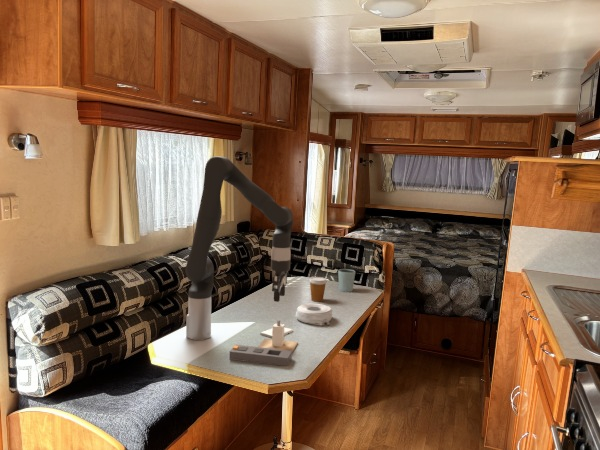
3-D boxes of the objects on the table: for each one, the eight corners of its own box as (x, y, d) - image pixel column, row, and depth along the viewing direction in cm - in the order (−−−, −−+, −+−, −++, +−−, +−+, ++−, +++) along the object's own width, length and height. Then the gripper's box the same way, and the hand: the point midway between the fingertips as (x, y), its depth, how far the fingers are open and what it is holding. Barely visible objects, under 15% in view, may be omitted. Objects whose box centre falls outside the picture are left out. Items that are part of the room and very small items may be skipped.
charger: (272, 345, 183) (272, 321, 182) (274, 342, 187) (275, 318, 186) (281, 346, 182) (282, 322, 181) (283, 343, 186) (284, 319, 185)
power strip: (229, 359, 170) (229, 349, 170) (235, 352, 177) (236, 343, 177) (287, 366, 166) (287, 356, 166) (291, 358, 173) (291, 349, 172)
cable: (329, 327, 210) (329, 314, 209) (291, 323, 213) (292, 310, 213) (334, 315, 227) (334, 303, 226) (299, 312, 231) (299, 300, 230)
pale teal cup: (335, 288, 280) (335, 269, 279) (350, 287, 283) (351, 268, 282) (341, 292, 270) (342, 272, 269) (357, 292, 273) (358, 272, 272)
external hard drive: (260, 335, 197) (278, 328, 207) (274, 340, 192) (293, 332, 202) (260, 332, 197) (278, 325, 207) (274, 336, 192) (293, 329, 202)
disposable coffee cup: (326, 303, 248) (327, 281, 247) (308, 302, 248) (309, 280, 247) (325, 298, 258) (326, 277, 256) (308, 297, 258) (309, 276, 256)
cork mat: (257, 348, 181) (257, 347, 181) (264, 339, 191) (264, 338, 191) (292, 352, 178) (292, 351, 178) (297, 343, 188) (297, 342, 188)
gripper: (276, 254, 188) (274, 293, 190) (266, 260, 174) (265, 302, 176) (294, 255, 187) (292, 294, 189) (285, 262, 173) (284, 304, 175)
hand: (279, 298), depth 182 cm, fingers open, 8 cm apart
